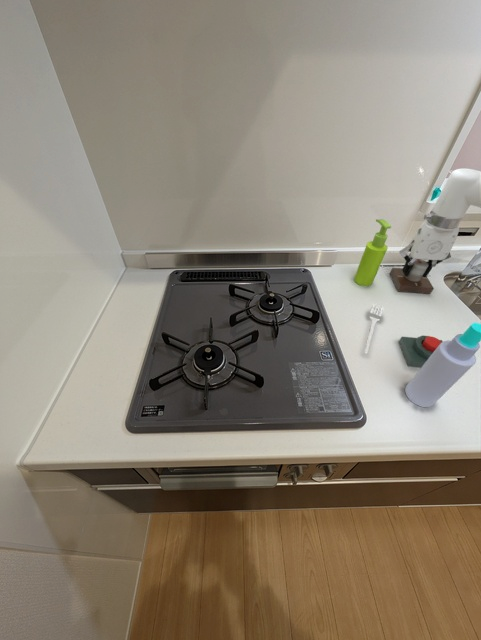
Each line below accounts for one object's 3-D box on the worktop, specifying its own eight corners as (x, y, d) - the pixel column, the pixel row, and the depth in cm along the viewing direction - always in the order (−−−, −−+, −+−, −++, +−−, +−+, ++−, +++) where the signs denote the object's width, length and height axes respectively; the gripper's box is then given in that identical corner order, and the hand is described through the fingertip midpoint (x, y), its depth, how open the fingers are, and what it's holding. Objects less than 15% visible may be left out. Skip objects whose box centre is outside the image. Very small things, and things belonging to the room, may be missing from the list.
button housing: (437, 345, 73) (445, 335, 70) (450, 370, 67) (459, 360, 64) (398, 341, 73) (404, 331, 70) (407, 366, 68) (415, 356, 65)
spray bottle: (404, 401, 61) (461, 334, 45) (404, 380, 65) (457, 311, 49) (434, 412, 59) (504, 346, 44) (433, 389, 63) (497, 321, 48)
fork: (358, 352, 71) (360, 348, 70) (371, 307, 84) (373, 302, 82) (371, 357, 70) (374, 352, 69) (382, 310, 83) (384, 305, 81)
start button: (435, 341, 69) (438, 336, 68) (440, 352, 66) (444, 348, 65) (420, 340, 69) (423, 335, 68) (425, 351, 66) (428, 346, 65)
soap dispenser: (366, 273, 95) (388, 217, 81) (375, 285, 90) (401, 228, 76) (350, 274, 95) (369, 218, 81) (358, 287, 90) (381, 229, 76)
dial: (422, 282, 88) (431, 267, 84) (406, 281, 88) (415, 265, 84) (417, 273, 91) (426, 258, 87) (402, 272, 92) (410, 257, 88)
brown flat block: (419, 275, 95) (422, 269, 93) (430, 294, 88) (434, 287, 86) (389, 273, 96) (392, 267, 94) (397, 291, 88) (401, 285, 87)
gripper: (416, 224, 74) (389, 279, 87) (483, 227, 73) (446, 283, 86) (407, 212, 79) (383, 265, 92) (469, 215, 78) (436, 269, 91)
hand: (414, 273), depth 89 cm, fingers closed on dial, 4 cm apart
